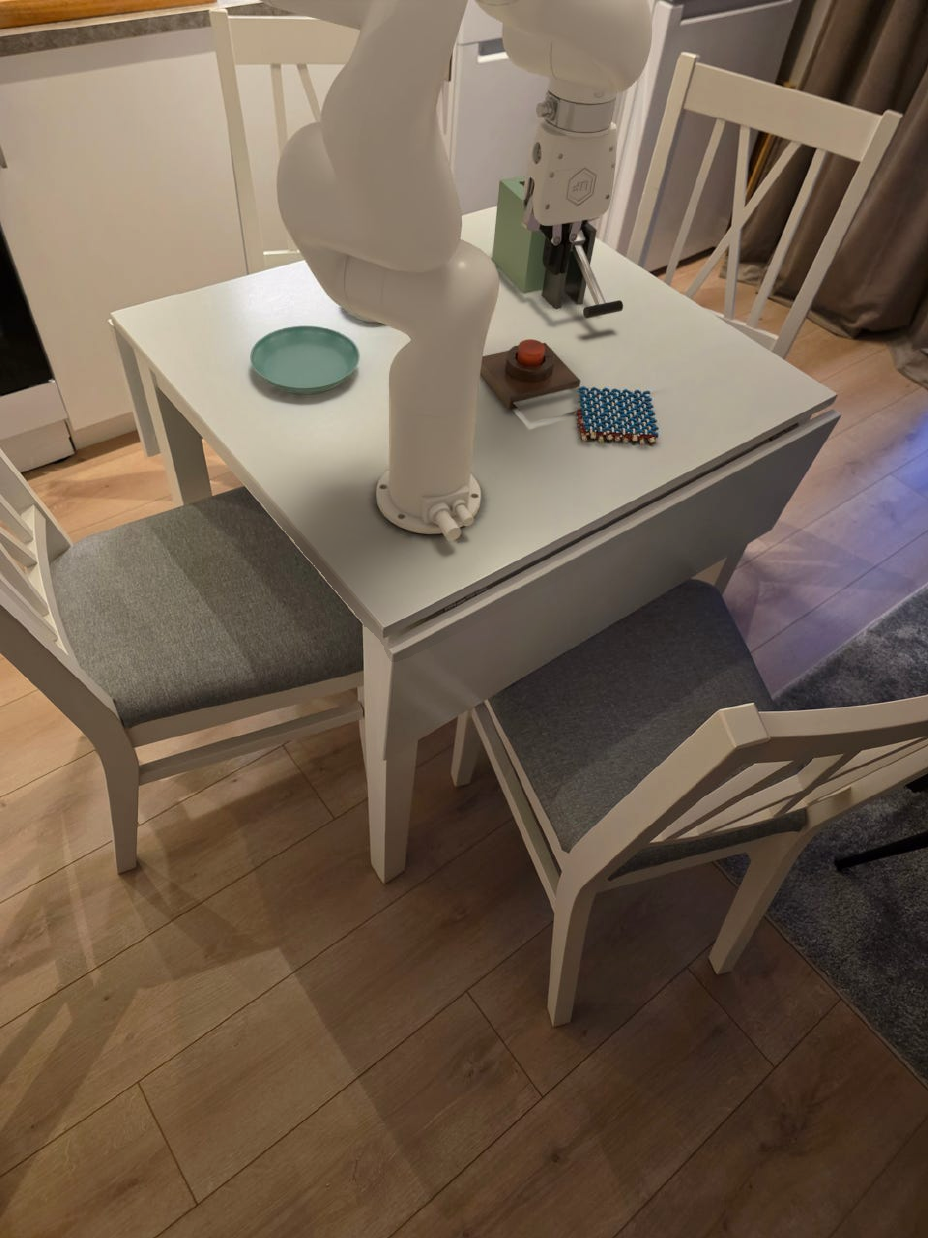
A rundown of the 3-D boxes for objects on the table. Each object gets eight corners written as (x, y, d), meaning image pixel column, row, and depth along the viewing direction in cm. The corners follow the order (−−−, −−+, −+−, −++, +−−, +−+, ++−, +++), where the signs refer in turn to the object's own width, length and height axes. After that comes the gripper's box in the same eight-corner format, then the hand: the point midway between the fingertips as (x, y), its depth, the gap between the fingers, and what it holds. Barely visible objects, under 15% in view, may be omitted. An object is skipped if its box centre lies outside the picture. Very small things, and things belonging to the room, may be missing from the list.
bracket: (595, 315, 129) (612, 233, 119) (551, 324, 126) (565, 242, 116) (569, 289, 133) (583, 209, 123) (526, 298, 130) (537, 217, 121)
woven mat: (572, 394, 115) (574, 382, 113) (646, 399, 115) (650, 387, 114) (578, 442, 108) (580, 429, 106) (657, 447, 109) (661, 434, 107)
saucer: (230, 367, 113) (227, 350, 111) (315, 330, 120) (314, 313, 118) (297, 417, 107) (295, 400, 105) (381, 375, 114) (381, 359, 112)
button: (547, 363, 113) (550, 350, 111) (525, 369, 112) (526, 355, 110) (535, 350, 115) (537, 336, 113) (512, 355, 113) (514, 341, 112)
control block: (577, 393, 115) (583, 368, 112) (509, 410, 111) (512, 385, 108) (543, 355, 120) (547, 330, 117) (476, 370, 117) (478, 345, 114)
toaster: (576, 290, 133) (592, 201, 122) (522, 300, 130) (534, 210, 119) (542, 258, 139) (555, 171, 128) (490, 267, 136) (499, 178, 125)
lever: (618, 314, 122) (625, 305, 119) (584, 322, 120) (591, 312, 117) (583, 231, 123) (589, 221, 121) (548, 237, 121) (554, 226, 119)
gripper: (537, 130, 86) (517, 294, 100) (653, 115, 91) (618, 273, 105) (504, 104, 90) (489, 264, 104) (616, 91, 95) (588, 246, 109)
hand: (554, 268), depth 105 cm, fingers closed
